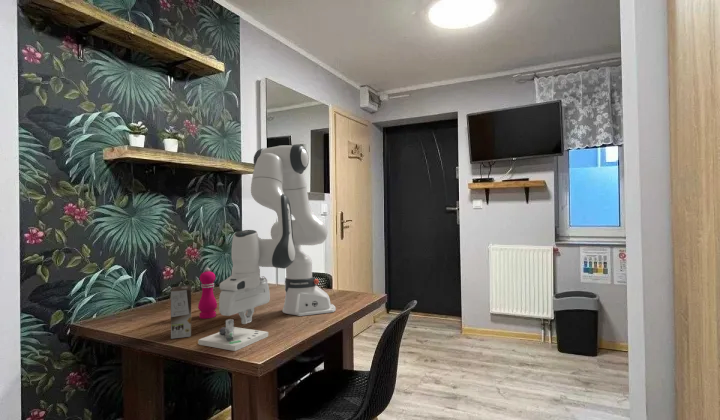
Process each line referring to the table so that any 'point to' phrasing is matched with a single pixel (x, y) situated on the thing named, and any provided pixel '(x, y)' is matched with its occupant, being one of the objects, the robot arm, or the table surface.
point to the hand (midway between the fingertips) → (246, 322)
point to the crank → (228, 330)
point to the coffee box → (180, 312)
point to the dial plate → (234, 339)
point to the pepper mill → (207, 295)
